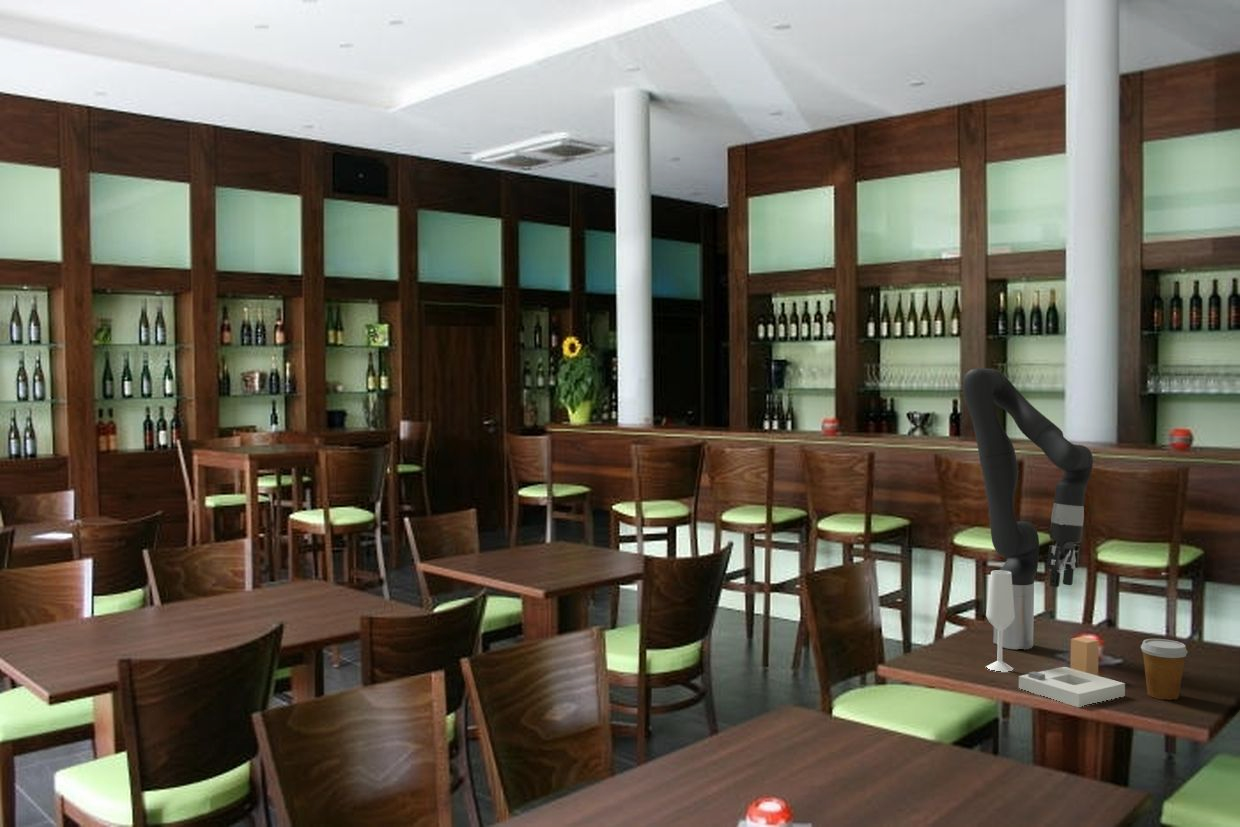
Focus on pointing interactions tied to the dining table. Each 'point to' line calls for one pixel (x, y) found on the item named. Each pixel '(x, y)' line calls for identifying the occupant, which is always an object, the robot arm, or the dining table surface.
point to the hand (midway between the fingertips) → (1060, 585)
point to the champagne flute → (1000, 611)
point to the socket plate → (1071, 686)
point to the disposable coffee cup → (1163, 667)
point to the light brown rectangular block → (1085, 655)
